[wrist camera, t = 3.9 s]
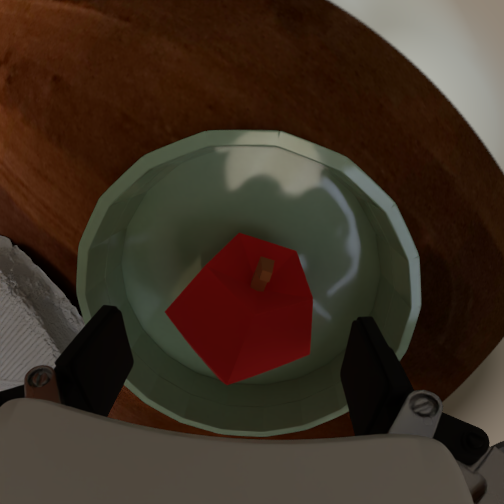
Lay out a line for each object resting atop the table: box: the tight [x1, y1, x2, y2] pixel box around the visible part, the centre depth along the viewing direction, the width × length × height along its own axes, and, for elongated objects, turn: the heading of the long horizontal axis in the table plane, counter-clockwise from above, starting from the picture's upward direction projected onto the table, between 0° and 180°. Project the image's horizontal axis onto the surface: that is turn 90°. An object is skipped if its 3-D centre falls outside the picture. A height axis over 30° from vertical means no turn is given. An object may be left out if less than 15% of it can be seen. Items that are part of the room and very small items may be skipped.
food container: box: [0, 236, 85, 391], centre depth 16 cm, size 20×20×7 cm
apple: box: [165, 233, 313, 385], centre depth 13 cm, size 7×7×8 cm
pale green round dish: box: [76, 130, 421, 437], centre depth 14 cm, size 16×16×4 cm
